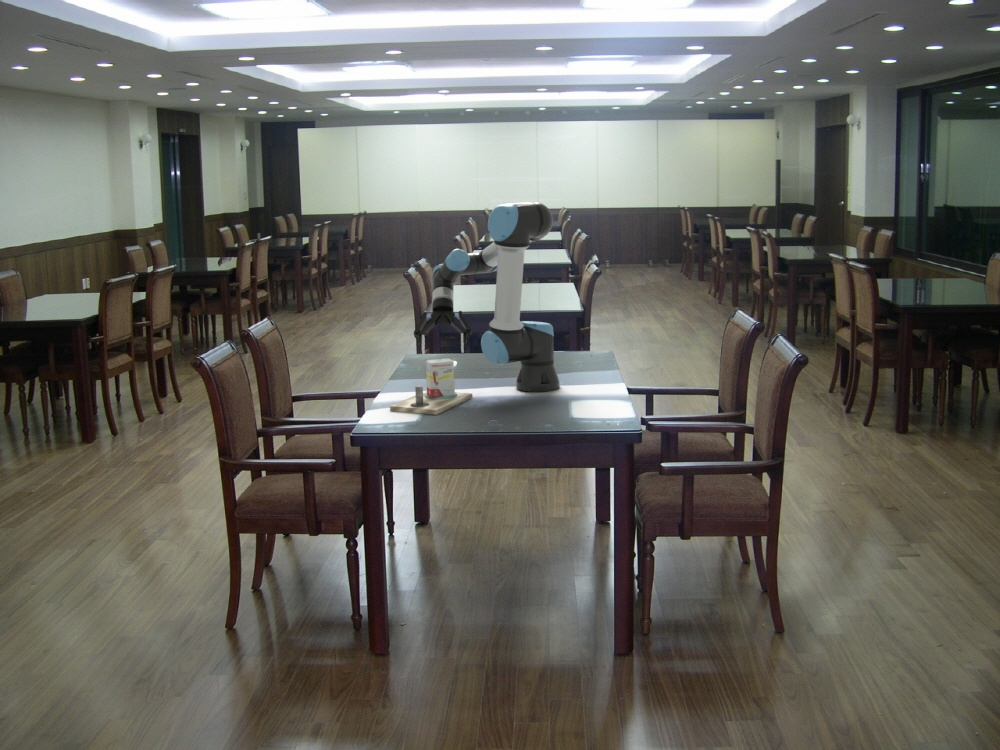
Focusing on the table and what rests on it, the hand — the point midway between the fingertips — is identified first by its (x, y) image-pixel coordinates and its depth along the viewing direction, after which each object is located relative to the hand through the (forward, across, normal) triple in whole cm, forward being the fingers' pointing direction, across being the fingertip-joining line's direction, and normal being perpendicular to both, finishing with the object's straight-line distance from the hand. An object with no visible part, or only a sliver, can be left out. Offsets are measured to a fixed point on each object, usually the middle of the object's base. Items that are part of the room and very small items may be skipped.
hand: (442, 351), depth 363 cm
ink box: (+19, 0, +1) cm, 19 cm away
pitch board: (+24, +3, +4) cm, 24 cm away
